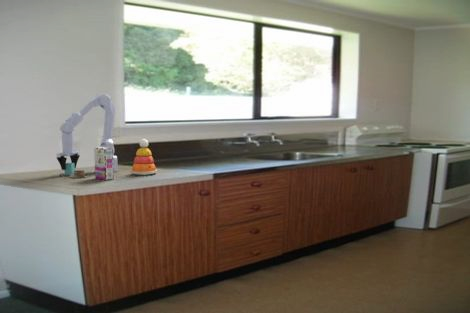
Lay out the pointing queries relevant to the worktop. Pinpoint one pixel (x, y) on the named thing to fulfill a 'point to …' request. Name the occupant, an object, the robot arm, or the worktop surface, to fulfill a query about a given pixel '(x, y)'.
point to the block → (69, 168)
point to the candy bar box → (104, 163)
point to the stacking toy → (143, 160)
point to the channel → (79, 174)
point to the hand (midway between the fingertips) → (68, 169)
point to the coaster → (63, 174)
